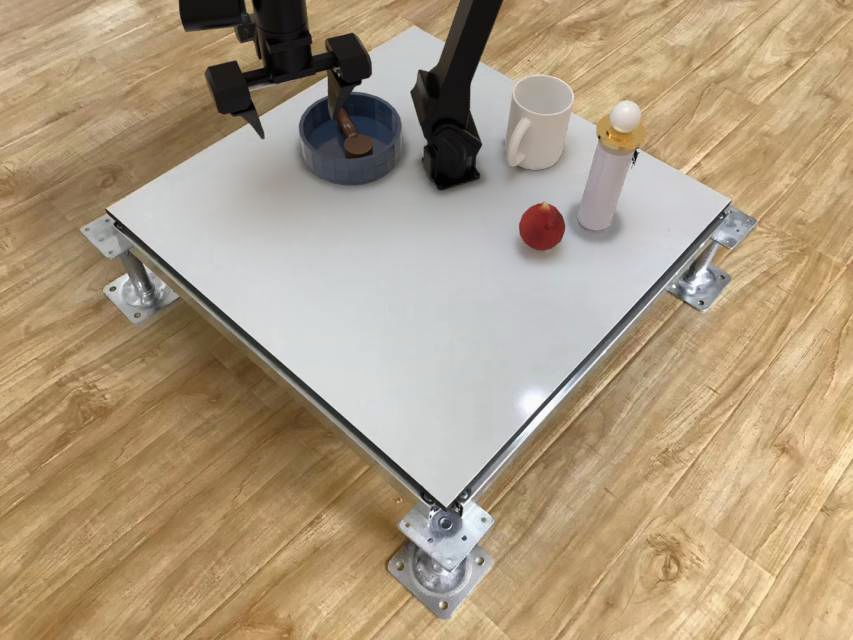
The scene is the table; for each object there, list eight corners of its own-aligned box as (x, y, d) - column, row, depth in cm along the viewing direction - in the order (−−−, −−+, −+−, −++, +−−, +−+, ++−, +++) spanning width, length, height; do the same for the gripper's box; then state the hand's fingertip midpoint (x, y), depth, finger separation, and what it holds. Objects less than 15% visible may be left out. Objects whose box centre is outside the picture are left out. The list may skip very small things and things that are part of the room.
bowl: (380, 106, 116) (379, 82, 112) (416, 169, 108) (417, 145, 105) (289, 130, 112) (285, 105, 108) (321, 196, 105) (318, 172, 101)
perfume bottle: (595, 244, 101) (632, 128, 85) (563, 219, 104) (593, 101, 87) (623, 223, 104) (665, 106, 87) (591, 199, 106) (626, 80, 89)
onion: (564, 236, 102) (575, 194, 96) (554, 268, 99) (564, 227, 92) (522, 224, 103) (530, 182, 96) (510, 255, 100) (518, 214, 93)
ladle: (377, 165, 108) (376, 147, 105) (350, 173, 107) (349, 155, 104) (353, 120, 113) (352, 102, 110) (327, 127, 112) (325, 109, 109)
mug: (529, 196, 106) (540, 139, 98) (479, 170, 109) (485, 113, 100) (571, 147, 112) (585, 90, 103) (522, 124, 114) (532, 66, 106)
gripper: (337, -39, 90) (345, 71, 103) (179, -5, 86) (208, 105, 99) (371, 15, 84) (375, 124, 97) (203, 54, 80) (231, 163, 93)
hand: (297, 127), depth 97 cm, fingers open, 9 cm apart
